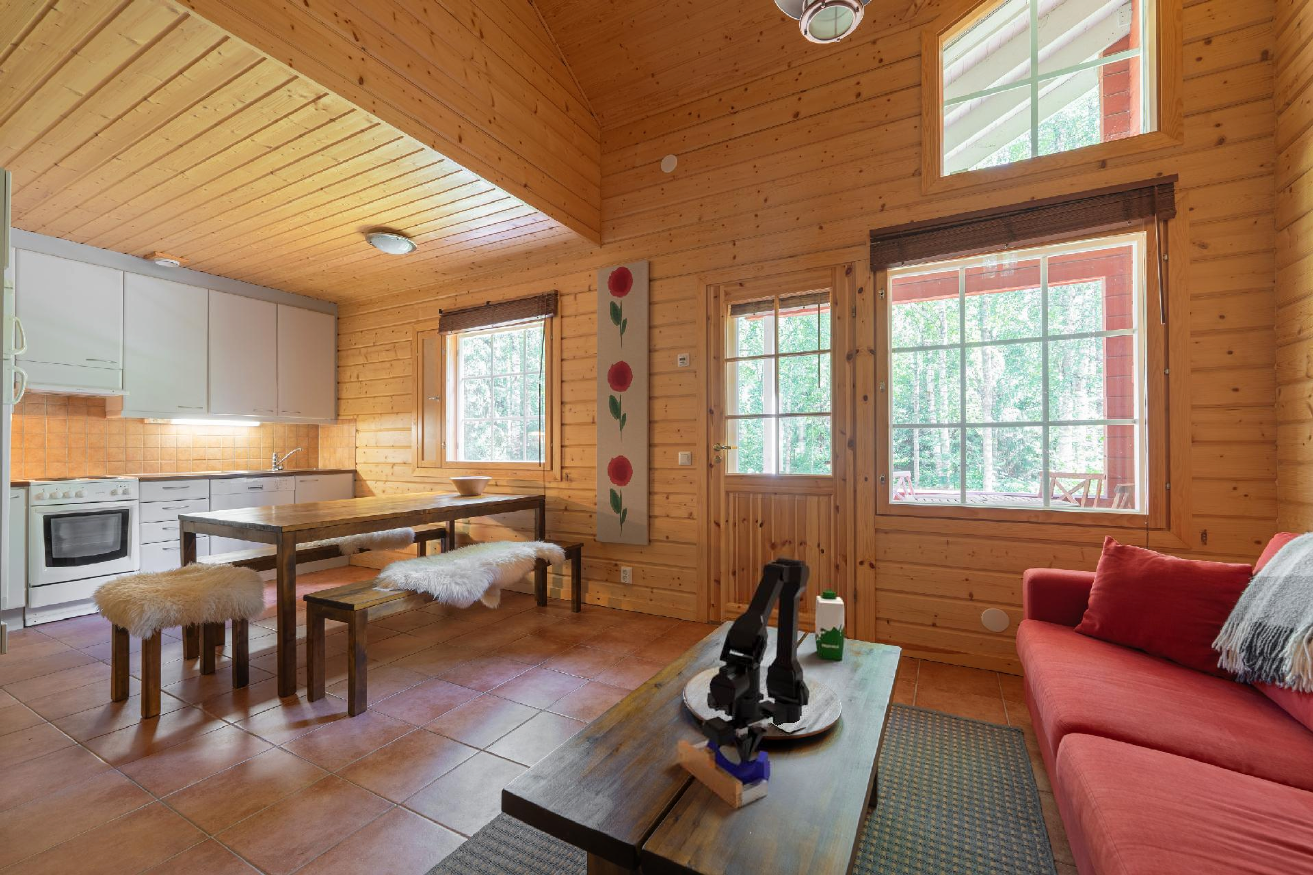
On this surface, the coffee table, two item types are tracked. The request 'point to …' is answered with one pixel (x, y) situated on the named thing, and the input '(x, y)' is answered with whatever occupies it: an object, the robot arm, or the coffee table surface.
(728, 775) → the keeper
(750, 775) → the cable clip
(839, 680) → the coffee table surface
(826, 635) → the milk carton
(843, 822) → the coffee table surface
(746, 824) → the coffee table surface
